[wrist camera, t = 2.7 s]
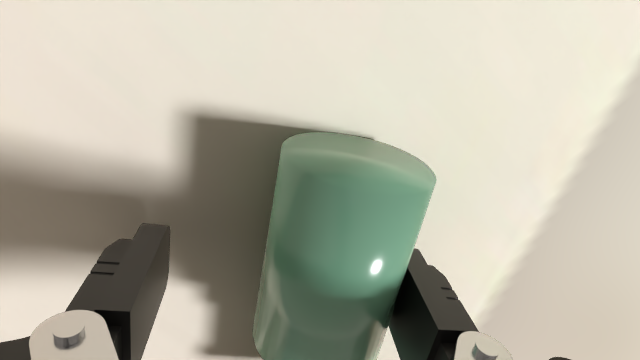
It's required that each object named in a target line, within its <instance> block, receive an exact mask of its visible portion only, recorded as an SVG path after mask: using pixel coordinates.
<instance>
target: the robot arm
mask: <svg viewBox="0 0 640 360" xmlns="http://www.w3.org/2000/svg"><path fill="white" fill-rule="evenodd" d="M169 251H170V227H169V226H167V225H156V224H145V223H142V224H141V226H140V227H139V229H138V231H137V233H136V235H135V237H134V238H133V240H128V239H119V240H117V241H116V242H114V243H113V244H111V245H110V246H108V247H107V248H105V250H104V251H103V253H102V254H101V256H100V257H99V259H98V261H97V264H95V265H94V267H93V268H92V270H91V273H90V274H89V275H88V276H87V278H86V279H85V281H84V283H83V284H82V286H81V287H80V289H79V290H78V292H77V293H76V295H75V297H74V298H73V300H72V301H71V303H70V304H69V306H68V308H67V309H66V311H65V312H63V313H60V314H57V315H54V316H52V317H50V318H48V319H47V320H45V321H44V322H42V323H41V324H40V325H39V326H38V327H36V329H35V330H34V331H33V333H32V334H31V336H29V337H25V338H22V339H17V340H12V341H7V342H1V343H0V360H141V358H142V355H143V352H144V349H145V347H146V344H147V341H148V338H149V335H150V332H151V329H152V327H153V324H154V321H155V318H156V315H157V312H158V309H159V307H160V304H161V301H162V298H163V295H164V292H165V289H166V285H167V280H168V273H169ZM388 326H389V328H390V331H391V334H392V337H393V340H394V343H395V345H396V348H397V351H398V354H399V357H400V360H513V358H512V356H511V354H510V353H509V351H508V350H507V349H506V348H505V347H504V346H503V345H502V344H501V343H500V342H498V341H497V340H496V339H494V338H492V337H491V336H488V335H486V334H484V333H480V332H479V331H478V330H477V328H476V326H475V325H474V323H473V321H472V320H471V318H470V316H469V315H468V313H467V312H466V310H465V308H464V307H463V305H462V303H461V302H460V300H458V297H457V295H456V294H455V292H454V290H452V287H451V285H450V284H449V282H448V281H447V279H446V277H445V276H444V275H443V274H442V273H441V272H439V271H438V270H437V269H436V268H435V267H434V266H431V265H427V263H426V261H425V259H424V258H423V256H422V254H421V252H420V251H419V250H418V249H413V252H412V255H411V258H410V261H409V264H408V267H407V270H406V273H405V276H404V279H403V282H402V285H401V288H400V291H399V294H398V297H397V300H396V303H395V306H394V309H393V312H392V315H391V318H390V321H389V324H388ZM549 360H570V359H567V358H562V357H554V358H551V359H549Z"/></svg>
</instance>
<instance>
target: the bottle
mask: <svg viewBox="0 0 640 360" xmlns="http://www.w3.org/2000/svg"><path fill="white" fill-rule="evenodd" d="M435 183H436V176H435V174H434V172H433V171H432V170H431V169H430V168H429V167H428V166H427V165H426V164H425V163H424V162H422V161H421V160H419V159H418V158H416V157H415V156H413V155H411V154H409V153H407V152H405V151H403V150H401V149H398V148H396V147H393V146H391V145H388V144H385V143H382V142H379V141H375V140H372V139H368V138H364V137H359V136H353V135H347V134H340V133H332V132H309V133H301V134H297V135H294V136H291V137H289V138H287V139H286V140H285V141H284V142H283V144H282V147H281V153H280V159H279V166H278V172H277V178H276V185H275V191H274V197H273V204H272V210H271V217H270V223H269V229H268V236H267V242H266V248H265V255H264V261H263V267H262V274H261V280H260V286H259V293H258V299H257V305H256V312H255V318H254V325H253V339H254V343H255V346H256V349H257V351H258V353H259V354H260V356H261V358H262V359H263V360H377V357H378V354H379V351H380V348H381V345H382V342H383V339H384V336H385V333H386V330H387V327H388V324H389V321H390V318H391V315H392V312H393V309H394V306H395V303H396V300H397V297H398V294H399V291H400V288H401V285H402V282H403V279H404V276H405V273H406V270H407V267H408V264H409V261H410V258H411V255H412V252H413V249H414V246H415V243H416V240H417V237H418V234H419V231H420V228H421V225H422V222H423V219H424V216H425V213H426V210H427V207H428V204H429V201H430V198H431V195H432V192H433V189H434V186H435Z"/></svg>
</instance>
